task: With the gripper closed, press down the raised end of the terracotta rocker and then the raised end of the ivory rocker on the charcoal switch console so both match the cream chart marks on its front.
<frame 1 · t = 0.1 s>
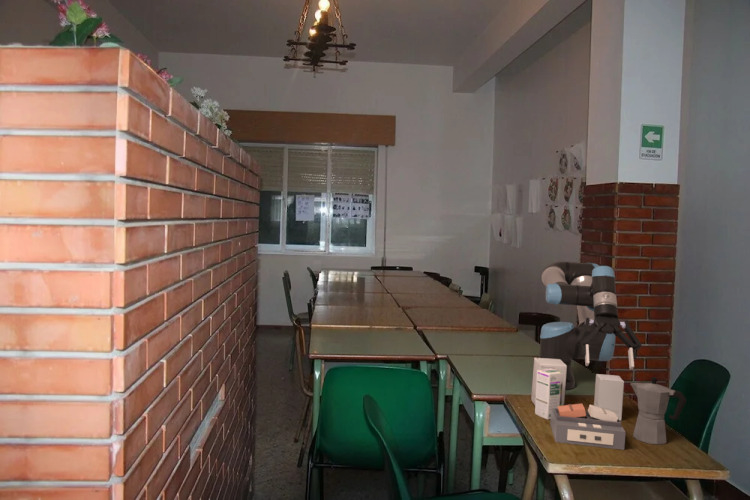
hand: (609, 366, 187), 15 cm above the table, tool tilted 35°, fingers open, 13 cm apart
supplement box 2: (547, 405, 193), on the table
supplement box: (607, 416, 185), on the table
rocker a: (571, 410, 166), point 7 cm above the table, hinge at 13.0°
coffeepot: (653, 440, 166), on the table
console: (585, 436, 166), on the table
syrup box: (547, 416, 182), on the table
rocker b: (602, 413, 165), point 7 cm above the table, hinge at -13.0°
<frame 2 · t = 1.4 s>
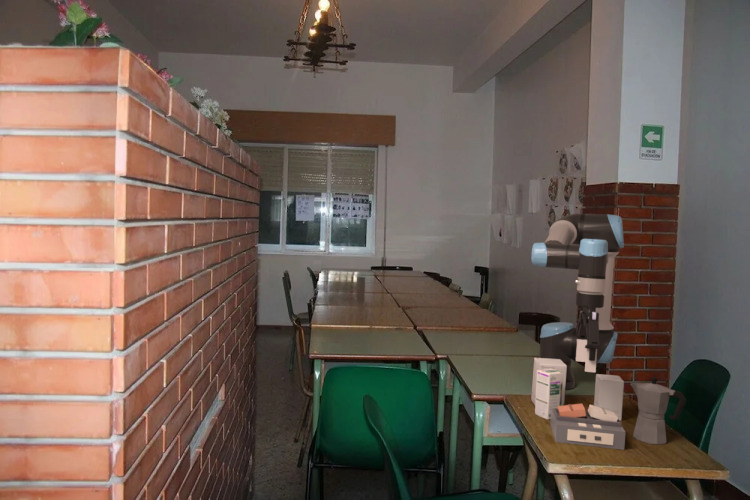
hand: (585, 366, 166), 20 cm above the table, tool pointing down, fingers open, 13 cm apart
nothing on the table moved.
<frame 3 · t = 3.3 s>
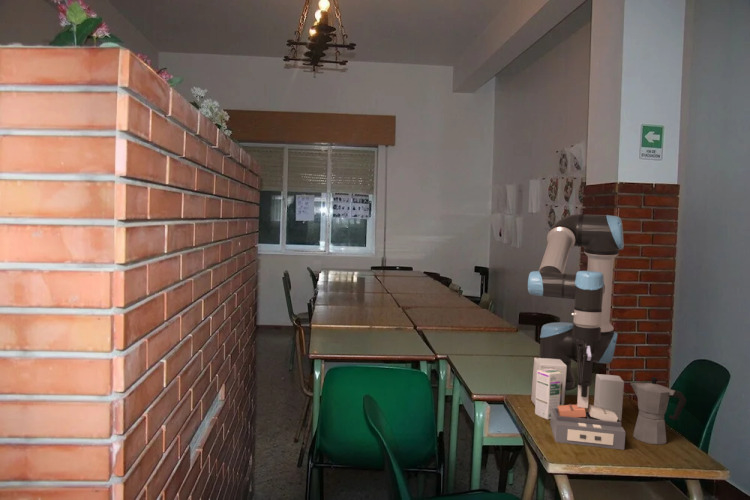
hand: (582, 406, 166), 9 cm above the table, tool pointing down, fingers closed
rocker a: (571, 410, 166), point 7 cm above the table, hinge at 9.4°, touching gripper
everything else where it was.
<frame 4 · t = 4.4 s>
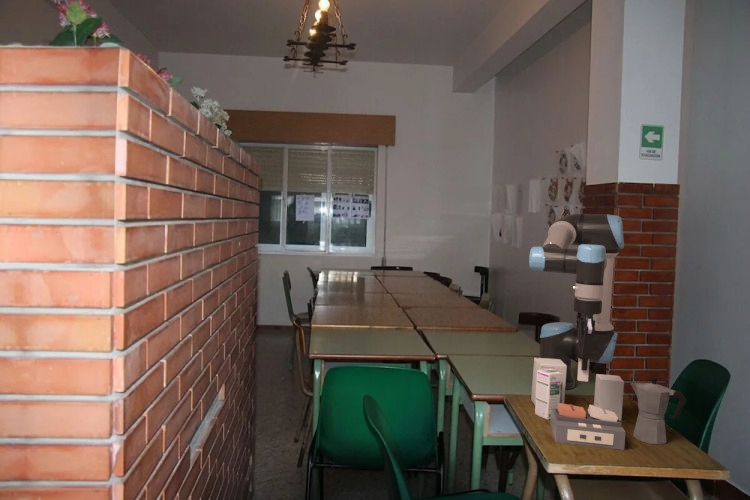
hand: (582, 380, 165), 16 cm above the table, tool pointing down, fingers closed
rocker a: (571, 410, 166), point 7 cm above the table, hinge at -5.4°
everything else where it was.
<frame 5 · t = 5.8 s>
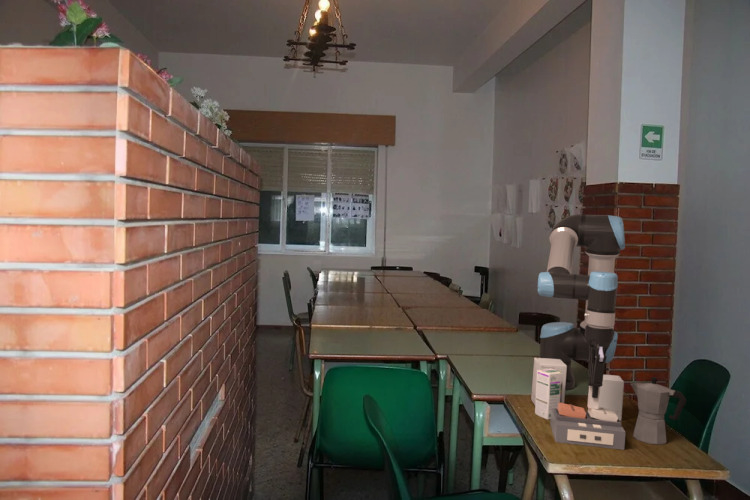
hand: (592, 407, 165), 9 cm above the table, tool pointing down, fingers closed
rocker a: (571, 410, 166), point 7 cm above the table, hinge at -8.0°
rocker b: (602, 413, 165), point 7 cm above the table, hinge at -10.9°, touching gripper
everything else where it was.
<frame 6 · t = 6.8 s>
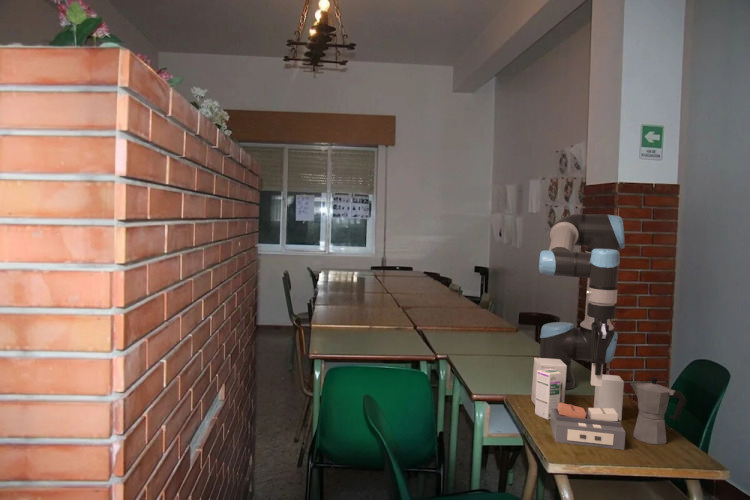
hand: (596, 385, 165), 15 cm above the table, tool pointing down, fingers closed
rocker a: (571, 410, 166), point 7 cm above the table, hinge at -8.4°
rocker b: (602, 413, 165), point 7 cm above the table, hinge at 5.2°
everything else where it was.
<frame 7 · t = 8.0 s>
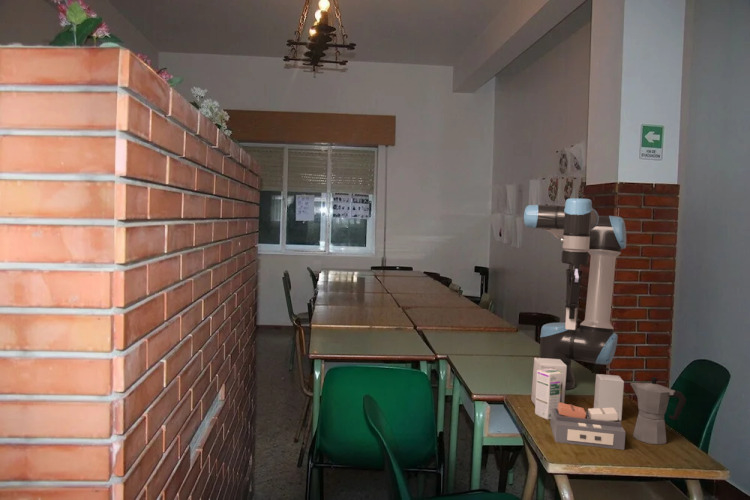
hand: (570, 328, 173), 29 cm above the table, tool pointing down, fingers closed
rocker b: (602, 413, 165), point 7 cm above the table, hinge at 8.7°
everything else where it was.
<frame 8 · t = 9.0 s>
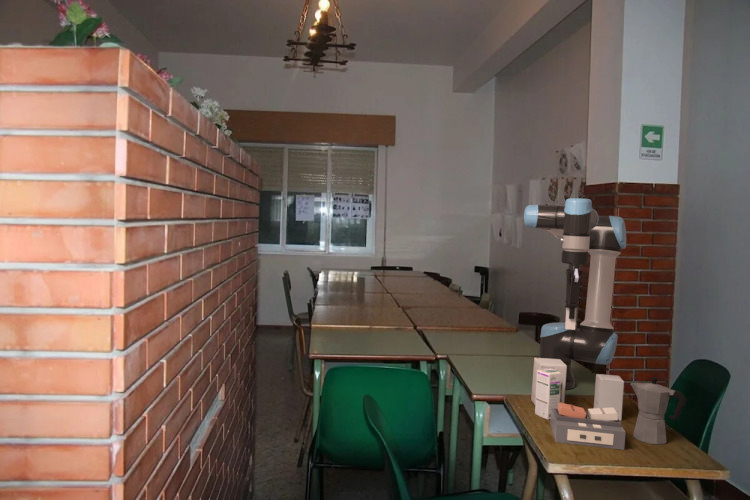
hand: (570, 328, 173), 29 cm above the table, tool pointing down, fingers closed
rocker b: (602, 413, 165), point 7 cm above the table, hinge at 9.5°
everything else where it was.
at the end: rocker a at -9° (first picture: +13°); rocker b at +10° (first picture: -13°) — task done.
